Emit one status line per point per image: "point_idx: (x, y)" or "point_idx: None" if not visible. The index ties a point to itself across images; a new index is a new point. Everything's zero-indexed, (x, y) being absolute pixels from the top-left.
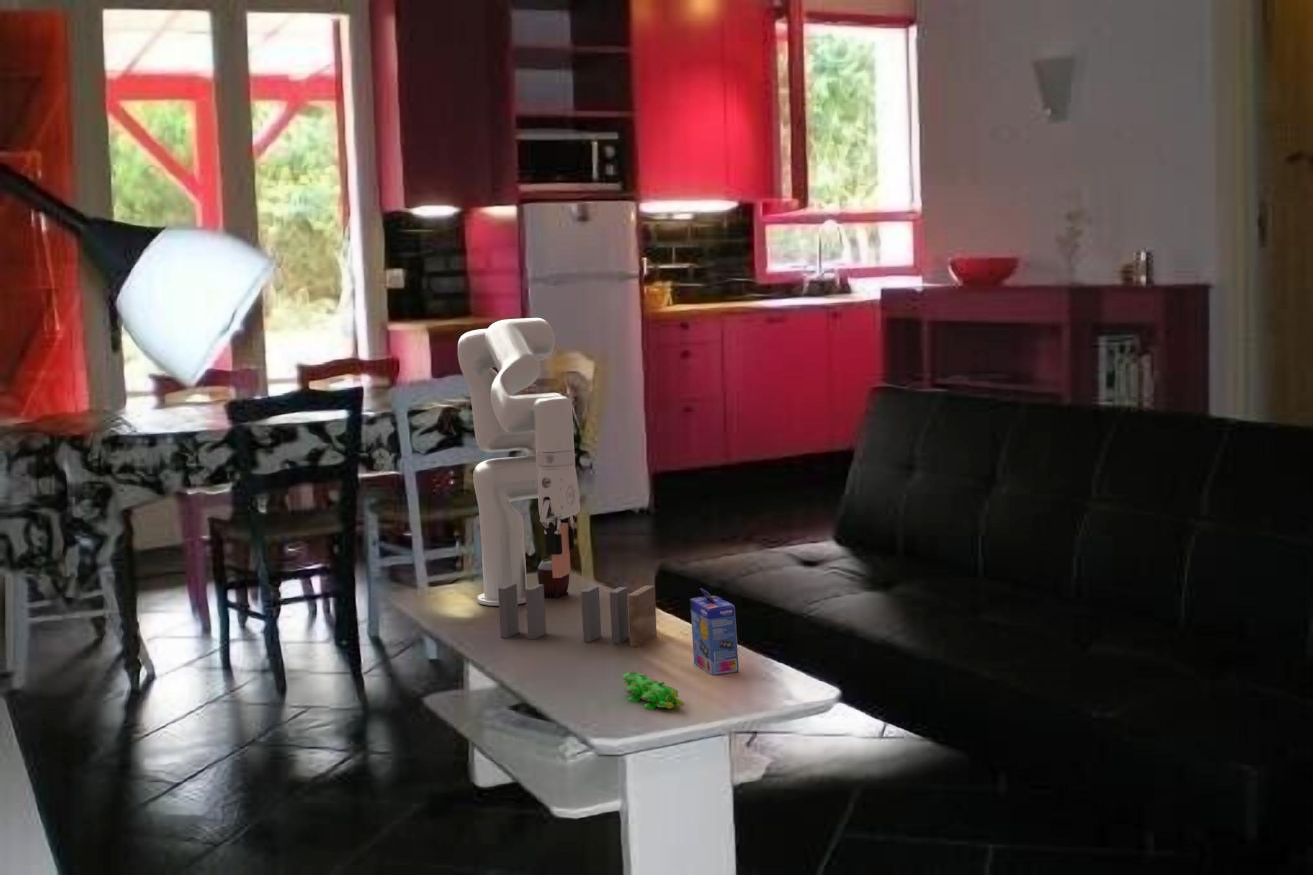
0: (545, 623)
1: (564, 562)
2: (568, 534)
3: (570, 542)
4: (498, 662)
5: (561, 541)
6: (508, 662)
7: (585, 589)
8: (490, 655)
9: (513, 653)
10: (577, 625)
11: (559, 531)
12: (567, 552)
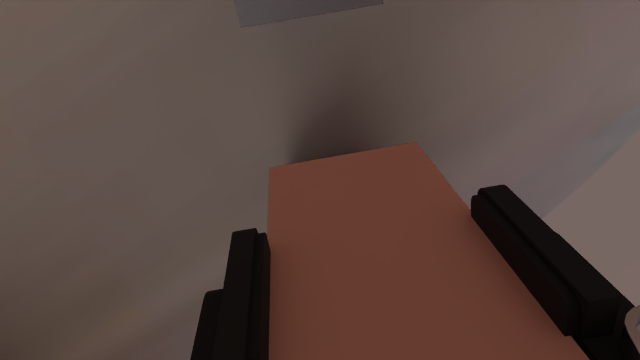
0: None
1: (361, 189)
2: (267, 348)
3: (266, 274)
4: (630, 100)
5: (546, 242)
6: (629, 72)
7: (332, 7)
8: (557, 166)
9: (529, 121)
10: (155, 145)
11: (629, 336)
12: (306, 232)
